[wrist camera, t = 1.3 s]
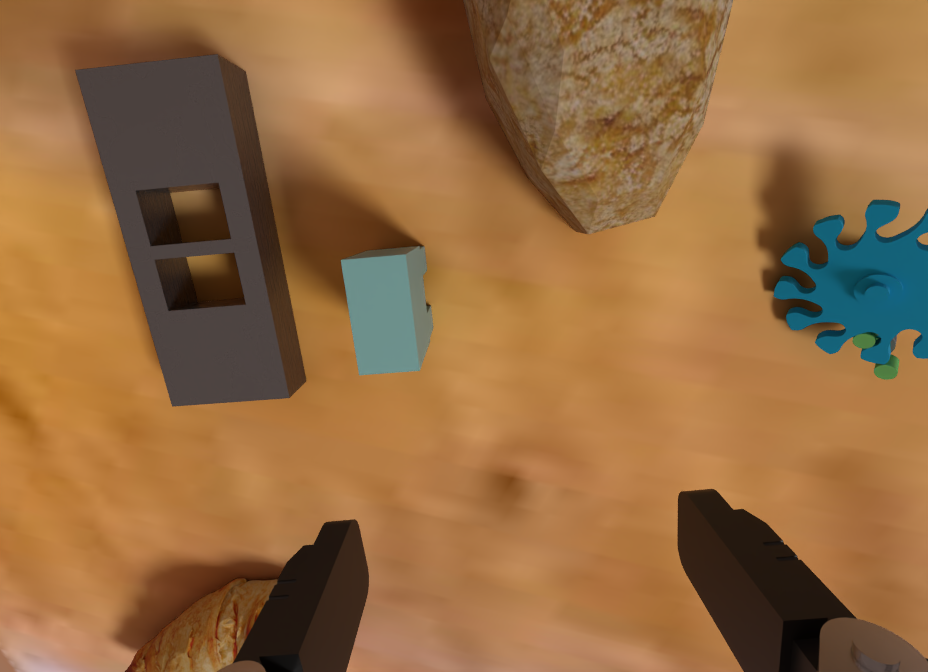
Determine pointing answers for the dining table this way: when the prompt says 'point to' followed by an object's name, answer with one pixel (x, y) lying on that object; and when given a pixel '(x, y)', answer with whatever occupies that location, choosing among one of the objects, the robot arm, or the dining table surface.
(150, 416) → the dining table surface
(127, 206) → the rail
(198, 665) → the croissant
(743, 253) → the dining table surface
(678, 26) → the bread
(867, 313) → the gear
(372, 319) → the teal block
